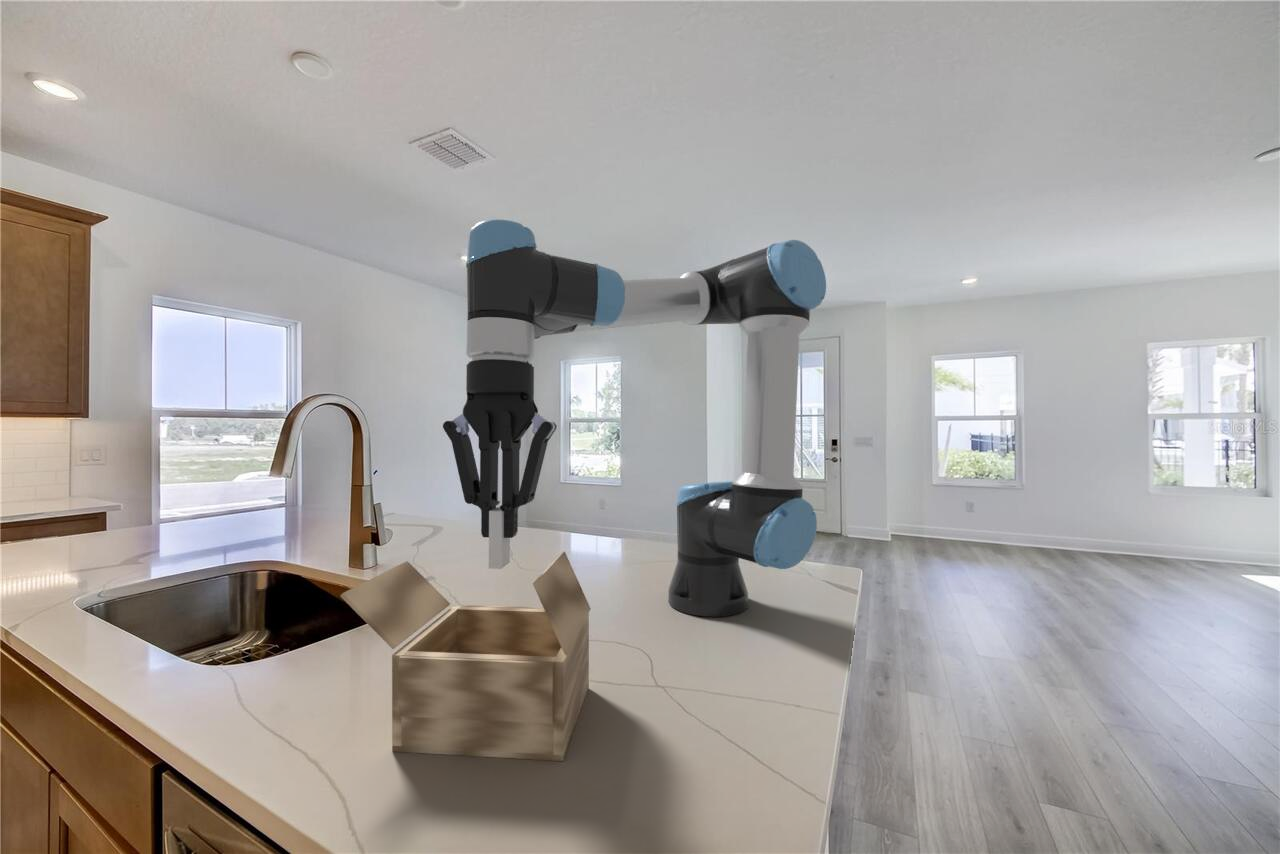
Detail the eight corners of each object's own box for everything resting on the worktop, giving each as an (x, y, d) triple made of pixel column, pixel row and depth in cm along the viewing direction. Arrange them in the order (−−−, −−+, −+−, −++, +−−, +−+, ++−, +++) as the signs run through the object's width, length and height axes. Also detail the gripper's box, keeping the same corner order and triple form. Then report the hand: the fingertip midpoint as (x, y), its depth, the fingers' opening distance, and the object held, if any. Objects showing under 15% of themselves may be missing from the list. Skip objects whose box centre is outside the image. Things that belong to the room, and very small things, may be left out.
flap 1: (407, 560, 65) (405, 563, 65) (342, 593, 53) (339, 595, 53) (450, 603, 65) (448, 606, 65) (395, 646, 52) (392, 649, 52)
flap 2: (587, 609, 63) (590, 608, 63) (565, 655, 51) (568, 654, 51) (561, 552, 64) (564, 551, 64) (532, 583, 51) (536, 582, 51)
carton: (589, 685, 65) (589, 608, 65) (562, 764, 50) (562, 664, 50) (455, 680, 66) (455, 604, 66) (389, 754, 51) (389, 657, 51)
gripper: (563, 365, 61) (562, 558, 61) (460, 365, 62) (459, 555, 62) (547, 356, 53) (545, 576, 53) (430, 357, 55) (428, 573, 55)
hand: (499, 565), depth 58 cm, fingers closed
